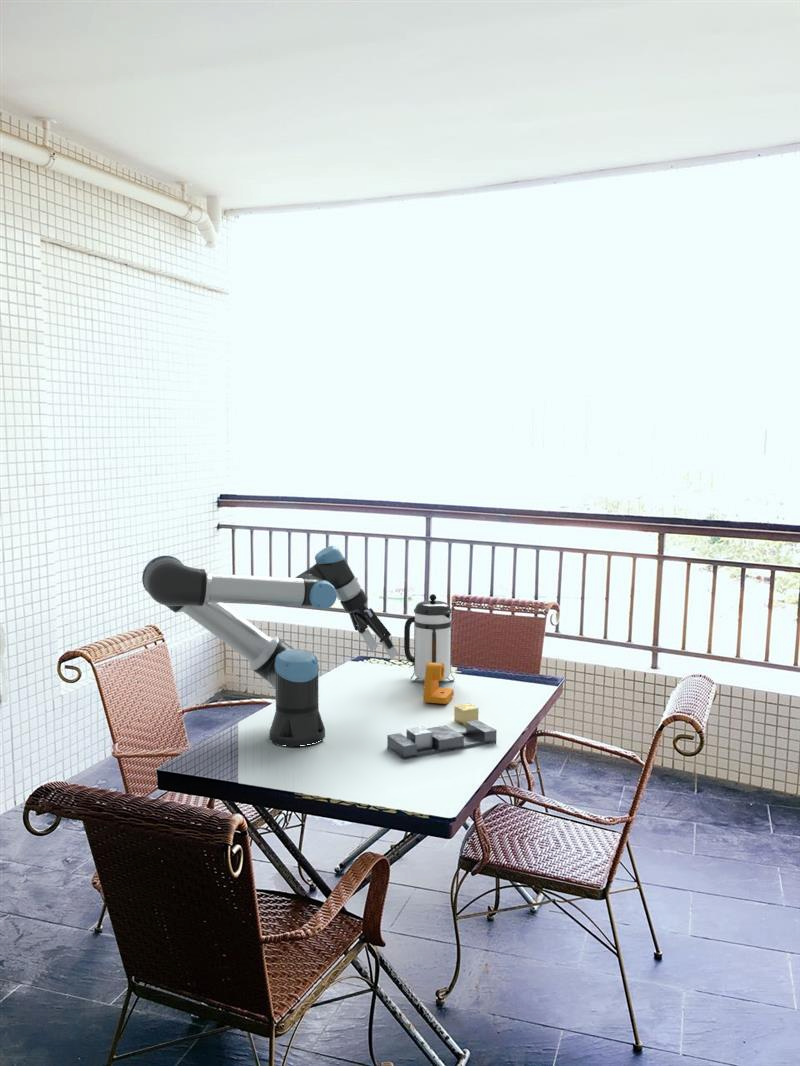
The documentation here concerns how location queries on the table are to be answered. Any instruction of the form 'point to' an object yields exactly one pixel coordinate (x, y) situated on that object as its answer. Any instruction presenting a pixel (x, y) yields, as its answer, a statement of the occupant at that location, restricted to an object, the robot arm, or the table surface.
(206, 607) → the robot arm
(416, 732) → the brushed aluminum cube
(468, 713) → the sand colored cube
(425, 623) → the coffee press
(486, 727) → the grey stepped block holder
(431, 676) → the bracket
